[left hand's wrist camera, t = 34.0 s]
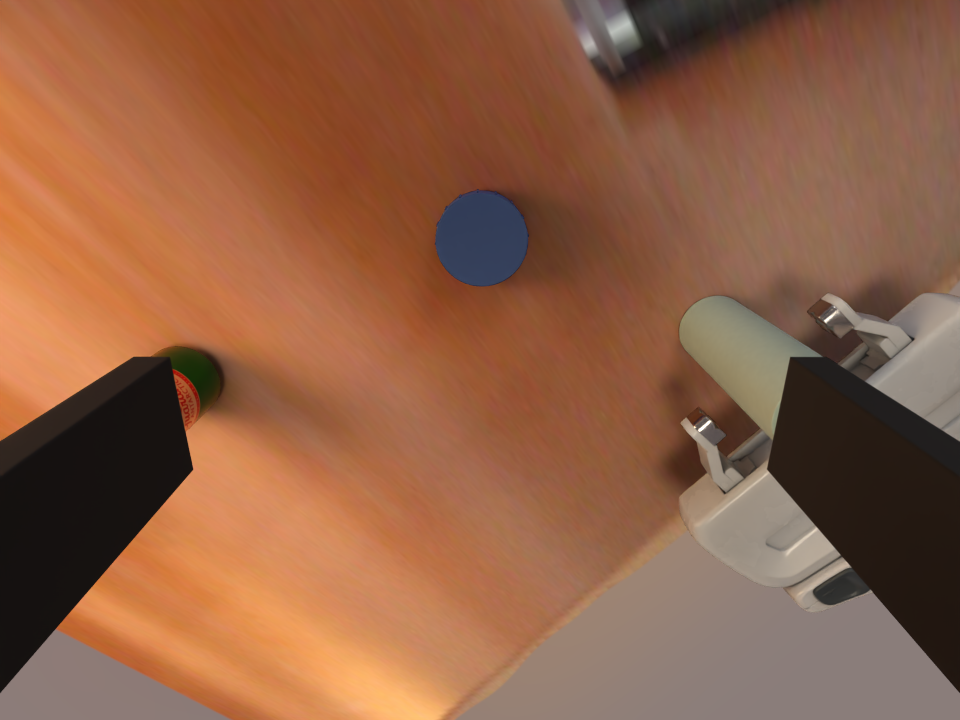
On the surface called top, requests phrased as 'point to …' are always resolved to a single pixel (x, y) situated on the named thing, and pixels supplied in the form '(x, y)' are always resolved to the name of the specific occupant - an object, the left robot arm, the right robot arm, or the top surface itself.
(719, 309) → the screw-top jar
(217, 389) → the soda can
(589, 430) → the top surface
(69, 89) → the top surface
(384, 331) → the top surface
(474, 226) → the lid
